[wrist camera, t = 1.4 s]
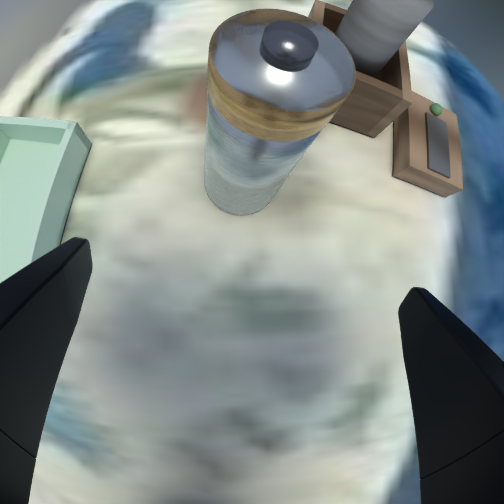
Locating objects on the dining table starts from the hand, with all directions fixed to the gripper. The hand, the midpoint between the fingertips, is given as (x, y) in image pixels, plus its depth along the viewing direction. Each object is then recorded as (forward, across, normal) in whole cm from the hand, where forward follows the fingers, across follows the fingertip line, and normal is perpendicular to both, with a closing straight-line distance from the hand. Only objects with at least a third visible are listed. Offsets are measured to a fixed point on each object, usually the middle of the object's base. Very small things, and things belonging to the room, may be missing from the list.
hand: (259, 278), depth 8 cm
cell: (+15, 0, +4) cm, 15 cm away
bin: (+22, -7, -3) cm, 23 cm away
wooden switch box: (+20, -16, -1) cm, 25 cm away
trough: (+11, +16, +8) cm, 21 cm away
